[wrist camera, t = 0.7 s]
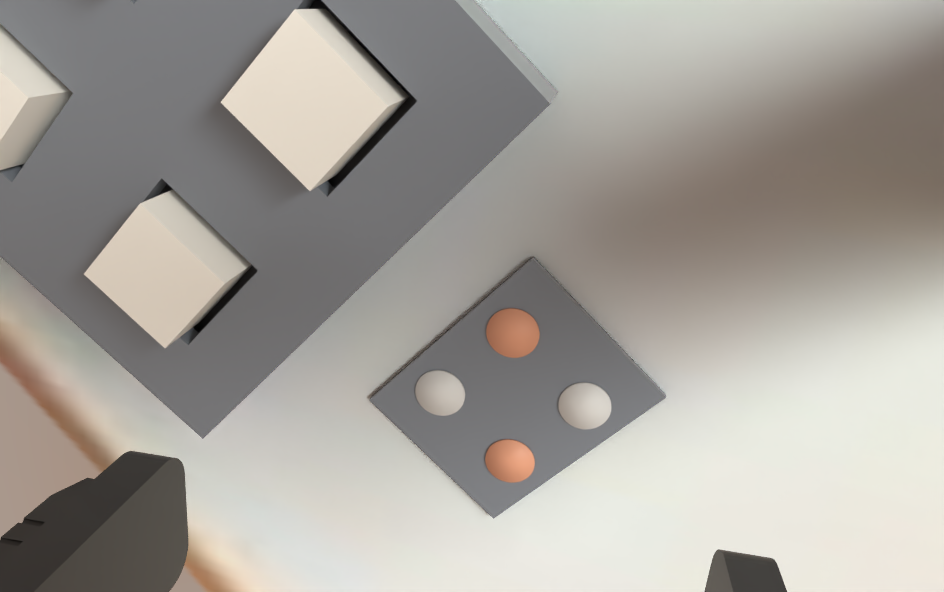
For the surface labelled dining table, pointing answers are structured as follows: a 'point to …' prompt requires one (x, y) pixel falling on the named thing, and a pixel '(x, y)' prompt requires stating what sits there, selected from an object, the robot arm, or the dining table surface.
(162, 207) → the button
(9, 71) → the button
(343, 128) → the button
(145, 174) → the button box
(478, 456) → the pattern card
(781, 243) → the dining table surface
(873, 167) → the dining table surface
